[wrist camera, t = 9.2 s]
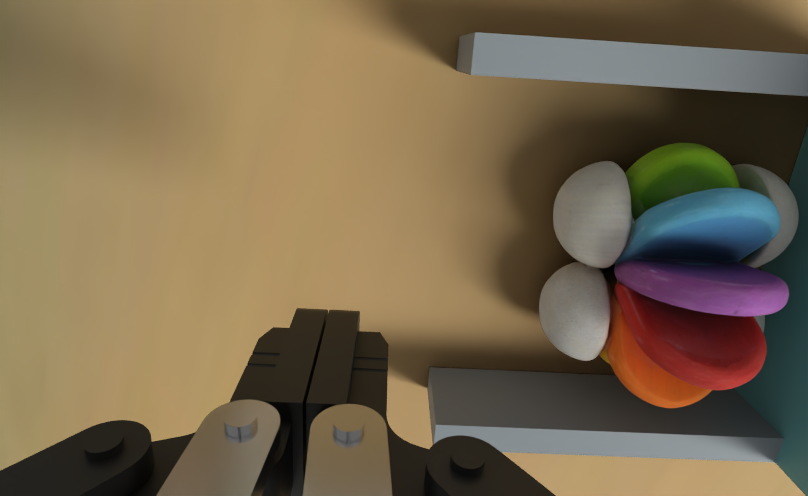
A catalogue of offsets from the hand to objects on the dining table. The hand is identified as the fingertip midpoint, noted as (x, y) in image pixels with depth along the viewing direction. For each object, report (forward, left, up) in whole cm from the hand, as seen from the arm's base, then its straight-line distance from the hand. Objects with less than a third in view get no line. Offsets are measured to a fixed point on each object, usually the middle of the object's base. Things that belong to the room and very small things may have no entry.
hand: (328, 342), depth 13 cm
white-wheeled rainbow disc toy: (0, +12, -10) cm, 16 cm away
